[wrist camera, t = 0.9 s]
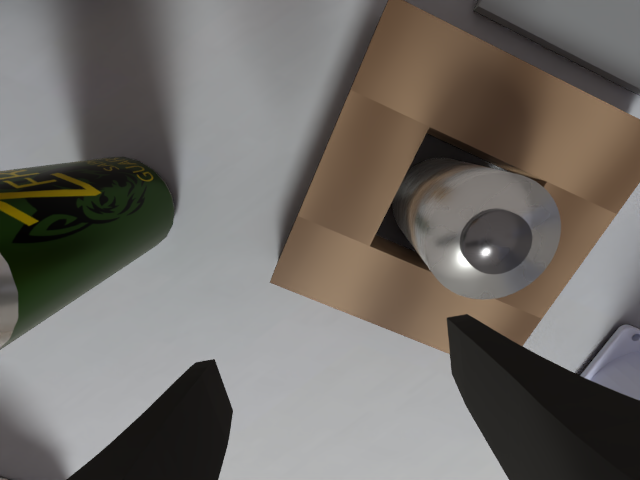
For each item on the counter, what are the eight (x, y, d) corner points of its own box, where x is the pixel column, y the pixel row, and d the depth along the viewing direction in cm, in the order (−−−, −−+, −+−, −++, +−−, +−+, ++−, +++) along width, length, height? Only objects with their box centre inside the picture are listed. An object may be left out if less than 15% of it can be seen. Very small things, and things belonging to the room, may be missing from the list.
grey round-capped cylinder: (498, 179, 19) (599, 209, 12) (453, 256, 21) (519, 324, 13) (418, 142, 19) (474, 150, 12) (377, 224, 20) (404, 276, 13)
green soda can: (181, 251, 21) (2, 397, 10) (92, 242, 21) (-195, 377, 9) (178, 160, 19) (-40, 205, 8) (82, 150, 19) (-278, 181, 8)
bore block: (619, 135, 18) (672, 136, 15) (479, 343, 22) (501, 374, 19) (380, 17, 17) (391, -6, 14) (277, 261, 21) (269, 282, 18)
